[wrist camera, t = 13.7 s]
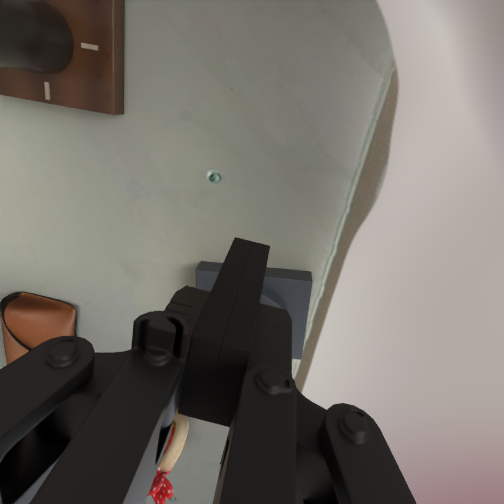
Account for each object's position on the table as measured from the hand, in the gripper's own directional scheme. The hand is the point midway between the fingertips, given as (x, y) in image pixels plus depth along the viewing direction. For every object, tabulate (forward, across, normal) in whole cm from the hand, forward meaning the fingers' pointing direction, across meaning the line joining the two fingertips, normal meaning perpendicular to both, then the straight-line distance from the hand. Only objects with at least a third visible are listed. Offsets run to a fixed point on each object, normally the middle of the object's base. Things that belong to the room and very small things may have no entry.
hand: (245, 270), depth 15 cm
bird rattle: (+20, -6, -36) cm, 41 cm away
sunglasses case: (+20, -23, -30) cm, 42 cm away
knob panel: (+20, -21, +7) cm, 30 cm away
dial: (+18, -21, +7) cm, 29 cm away
